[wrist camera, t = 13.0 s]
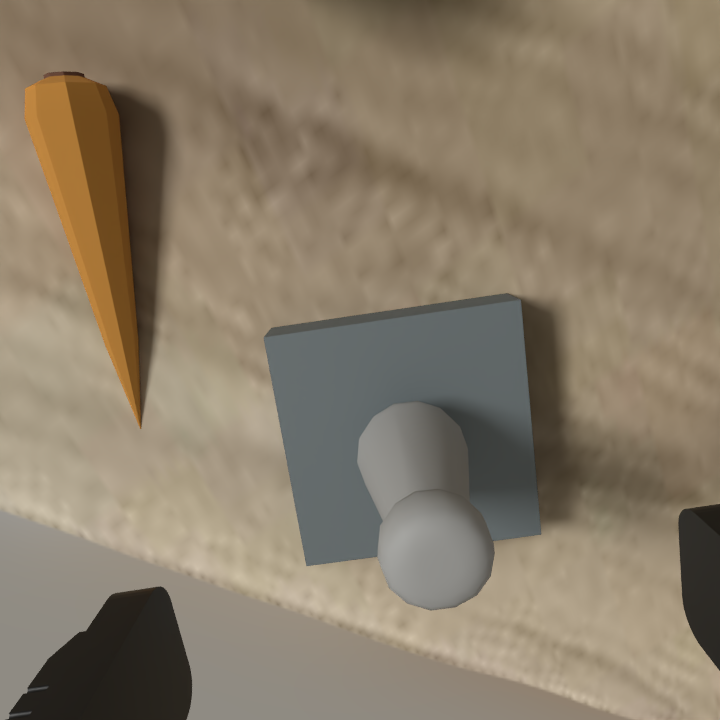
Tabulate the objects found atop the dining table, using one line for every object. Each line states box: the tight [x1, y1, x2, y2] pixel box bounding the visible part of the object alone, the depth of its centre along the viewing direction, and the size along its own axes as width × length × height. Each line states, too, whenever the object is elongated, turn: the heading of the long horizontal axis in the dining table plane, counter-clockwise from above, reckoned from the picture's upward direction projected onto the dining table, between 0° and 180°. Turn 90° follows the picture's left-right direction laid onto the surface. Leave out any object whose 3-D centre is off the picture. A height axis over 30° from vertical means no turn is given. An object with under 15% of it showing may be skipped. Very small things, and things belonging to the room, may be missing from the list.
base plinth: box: [264, 293, 541, 566], centre depth 35 cm, size 14×14×3 cm
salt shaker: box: [357, 401, 495, 610], centre depth 27 cm, size 6×6×13 cm
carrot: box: [25, 72, 141, 429], centre depth 33 cm, size 20×4×4 cm, turn 4°
